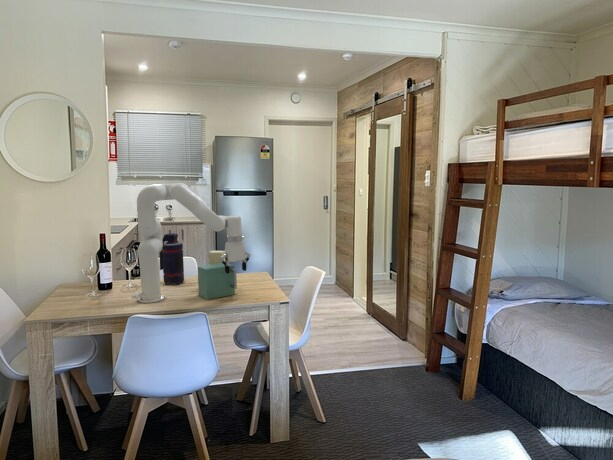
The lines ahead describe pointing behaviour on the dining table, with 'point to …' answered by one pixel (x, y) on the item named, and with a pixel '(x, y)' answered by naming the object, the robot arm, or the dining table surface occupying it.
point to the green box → (220, 282)
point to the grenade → (172, 260)
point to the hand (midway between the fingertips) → (236, 271)
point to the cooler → (203, 277)
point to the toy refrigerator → (215, 257)
